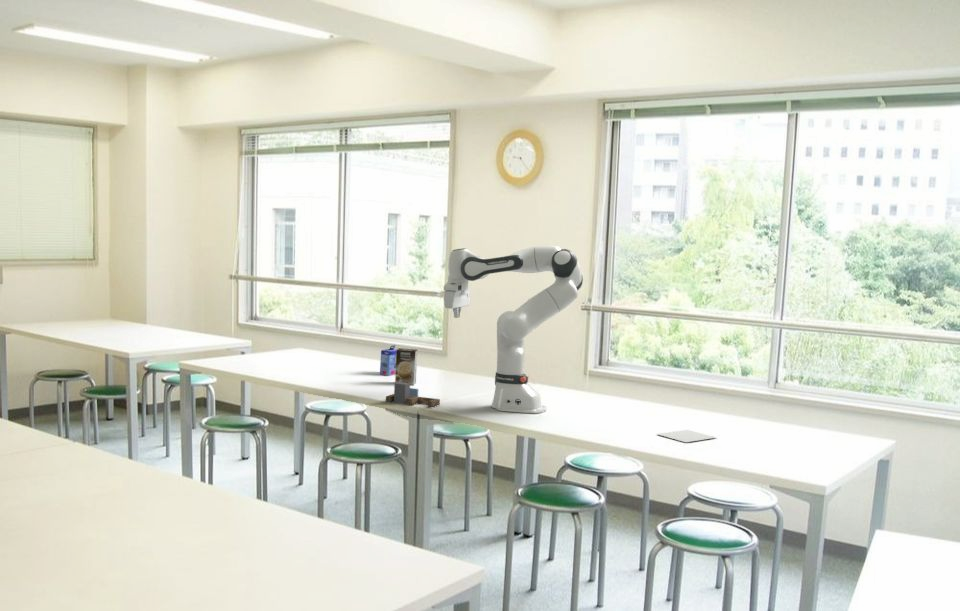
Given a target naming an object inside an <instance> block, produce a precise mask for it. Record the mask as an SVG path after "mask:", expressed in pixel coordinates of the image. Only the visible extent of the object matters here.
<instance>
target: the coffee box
mask: <svg viewBox="0 0 960 611" xmlns="http://www.w3.org/2000/svg"><path fill="white" fill-rule="evenodd" d="M396 349H397V352H396V373H395V375H394V376H395V378H394V384H395V383H398V382H403V383H410V386H415V385H416V384H417V365H418V364H417V362H418V349H413V348H396Z"/></svg>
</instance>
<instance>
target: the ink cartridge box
mask: <svg viewBox="0 0 960 611" xmlns="http://www.w3.org/2000/svg"><path fill="white" fill-rule="evenodd" d="M397 349H398V348H396V345H395V344H394V345H391V346H390V347H389V348H387V349H381V351H380V361H379V362H380V363H379V375H381V376H386V377H388V376H389V377H390V376H395V373H396V352H397Z"/></svg>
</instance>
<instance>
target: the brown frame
mask: <svg viewBox="0 0 960 611" xmlns="http://www.w3.org/2000/svg"><path fill="white" fill-rule="evenodd" d="M440 402H441V399H439V398H433V397H424V396H419V388H411V387H410V397H409V398H406V404H405V406H412V407H413V406H415V405H417V404H416V403H418V404H421V403H426V404H425V405H427V408H428V407H434V408H436V407H438V406H437V405H439V406H440ZM385 403H388V404H391V403H394V393H391V394H388V395H386V396H385ZM414 404H415V405H414ZM435 406H436V407H435Z"/></svg>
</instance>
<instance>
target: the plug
mask: <svg viewBox="0 0 960 611" xmlns="http://www.w3.org/2000/svg"><path fill="white" fill-rule="evenodd" d="M410 388H411V385H410V383H403V382H398V383H395V382H394V389H393V394H394V402H393V403H394V404H400V405H401V404H402V405H406V398H409V397H410Z"/></svg>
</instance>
